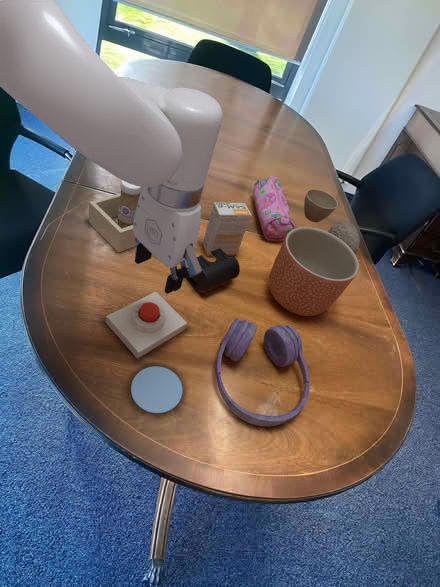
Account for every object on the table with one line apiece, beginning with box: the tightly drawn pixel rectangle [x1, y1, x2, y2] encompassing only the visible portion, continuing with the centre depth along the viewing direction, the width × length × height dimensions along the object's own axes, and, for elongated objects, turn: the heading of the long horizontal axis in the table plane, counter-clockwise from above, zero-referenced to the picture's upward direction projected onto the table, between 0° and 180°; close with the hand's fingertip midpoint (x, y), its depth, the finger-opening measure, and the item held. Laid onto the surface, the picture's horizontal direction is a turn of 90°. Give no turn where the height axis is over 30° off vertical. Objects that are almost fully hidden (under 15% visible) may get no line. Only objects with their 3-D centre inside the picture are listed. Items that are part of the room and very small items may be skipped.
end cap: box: [186, 248, 241, 293], centre depth 87 cm, size 10×7×7 cm
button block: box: [105, 291, 188, 359], centre depth 75 cm, size 12×10×4 cm
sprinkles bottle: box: [116, 179, 142, 229], centre depth 89 cm, size 5×5×14 cm
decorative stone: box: [327, 221, 360, 255], centre depth 107 cm, size 10×8×10 cm
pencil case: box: [252, 175, 296, 242], centre depth 110 cm, size 21×9×9 cm, turn 3°
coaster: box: [130, 365, 183, 415], centre depth 68 cm, size 9×9×1 cm
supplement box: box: [201, 201, 252, 257], centre depth 94 cm, size 8×5×13 cm, turn 108°
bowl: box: [303, 188, 339, 223], centre depth 118 cm, size 10×10×7 cm
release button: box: [139, 302, 160, 322], centre depth 73 cm, size 4×4×2 cm
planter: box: [268, 226, 360, 317], centre depth 88 cm, size 17×17×15 cm
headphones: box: [214, 317, 311, 427], centre depth 73 cm, size 18×8×20 cm
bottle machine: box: [88, 187, 143, 253], centre depth 88 cm, size 13×12×16 cm
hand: (157, 274), depth 66 cm, fingers open, 7 cm apart
